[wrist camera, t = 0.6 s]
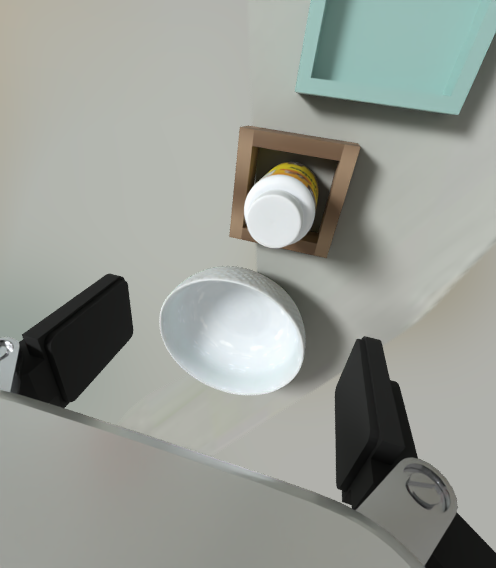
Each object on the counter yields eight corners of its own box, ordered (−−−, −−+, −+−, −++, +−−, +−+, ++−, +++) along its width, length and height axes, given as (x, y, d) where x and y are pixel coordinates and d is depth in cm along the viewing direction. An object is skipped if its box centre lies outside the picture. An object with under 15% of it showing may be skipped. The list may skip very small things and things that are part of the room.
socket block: (248, 125, 27) (239, 127, 24) (357, 143, 25) (360, 146, 23) (237, 226, 32) (229, 236, 30) (327, 246, 31) (326, 258, 28)
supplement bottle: (330, 196, 28) (329, 234, 20) (283, 227, 31) (265, 271, 22) (298, 146, 27) (282, 164, 18) (252, 183, 29) (219, 213, 21)
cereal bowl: (311, 252, 32) (307, 285, 26) (307, 362, 40) (303, 406, 34) (172, 248, 36) (140, 275, 30) (194, 348, 44) (173, 385, 38)
